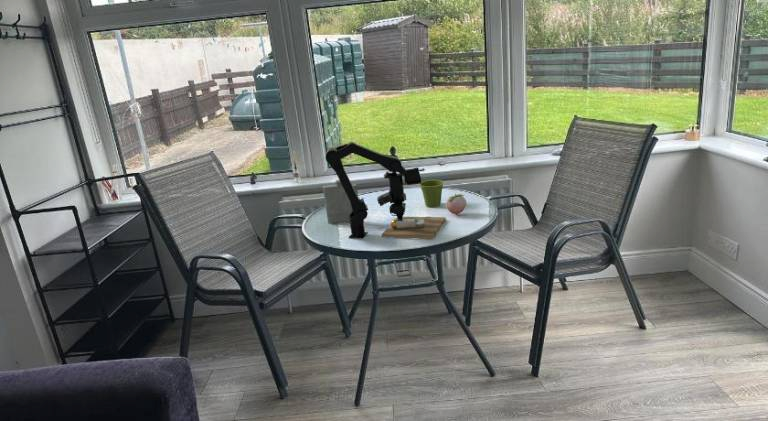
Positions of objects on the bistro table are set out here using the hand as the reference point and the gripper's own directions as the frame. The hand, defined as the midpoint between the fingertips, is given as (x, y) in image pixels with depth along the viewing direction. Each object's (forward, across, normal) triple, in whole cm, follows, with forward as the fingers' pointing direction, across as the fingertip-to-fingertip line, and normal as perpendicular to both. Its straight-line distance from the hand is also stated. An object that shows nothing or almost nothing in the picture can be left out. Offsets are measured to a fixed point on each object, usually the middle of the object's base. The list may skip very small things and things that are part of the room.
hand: (400, 221), depth 217 cm
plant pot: (+5, -31, +14) cm, 34 cm away
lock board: (+4, 0, +6) cm, 7 cm away
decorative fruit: (+4, -14, +24) cm, 29 cm away
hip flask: (+4, -16, -27) cm, 32 cm away
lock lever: (+2, +2, +3) cm, 4 cm away
